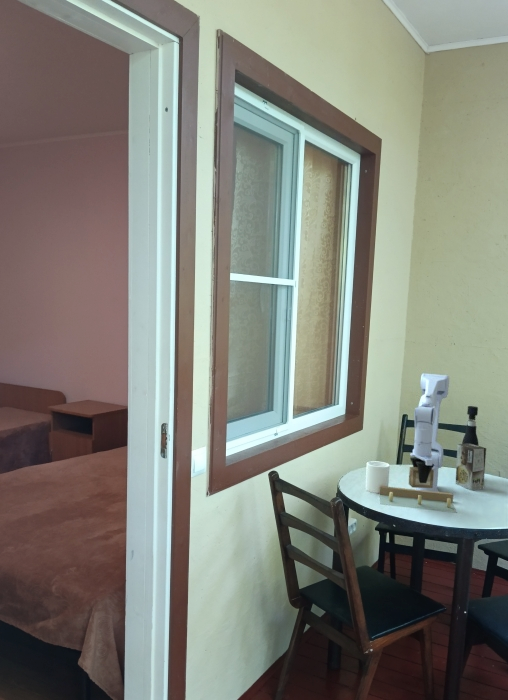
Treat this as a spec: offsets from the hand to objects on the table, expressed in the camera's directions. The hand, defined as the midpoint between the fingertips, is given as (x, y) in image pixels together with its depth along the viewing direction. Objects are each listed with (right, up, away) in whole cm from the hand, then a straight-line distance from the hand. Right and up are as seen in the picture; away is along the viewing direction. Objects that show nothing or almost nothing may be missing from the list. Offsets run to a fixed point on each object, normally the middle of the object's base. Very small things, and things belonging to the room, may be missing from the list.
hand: (420, 480), depth 192 cm
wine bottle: (+30, -8, +37) cm, 48 cm away
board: (-1, -9, +3) cm, 9 cm away
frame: (0, -2, 0) cm, 2 cm away
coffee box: (+27, -9, +27) cm, 40 cm away
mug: (-11, -8, +17) cm, 22 cm away
